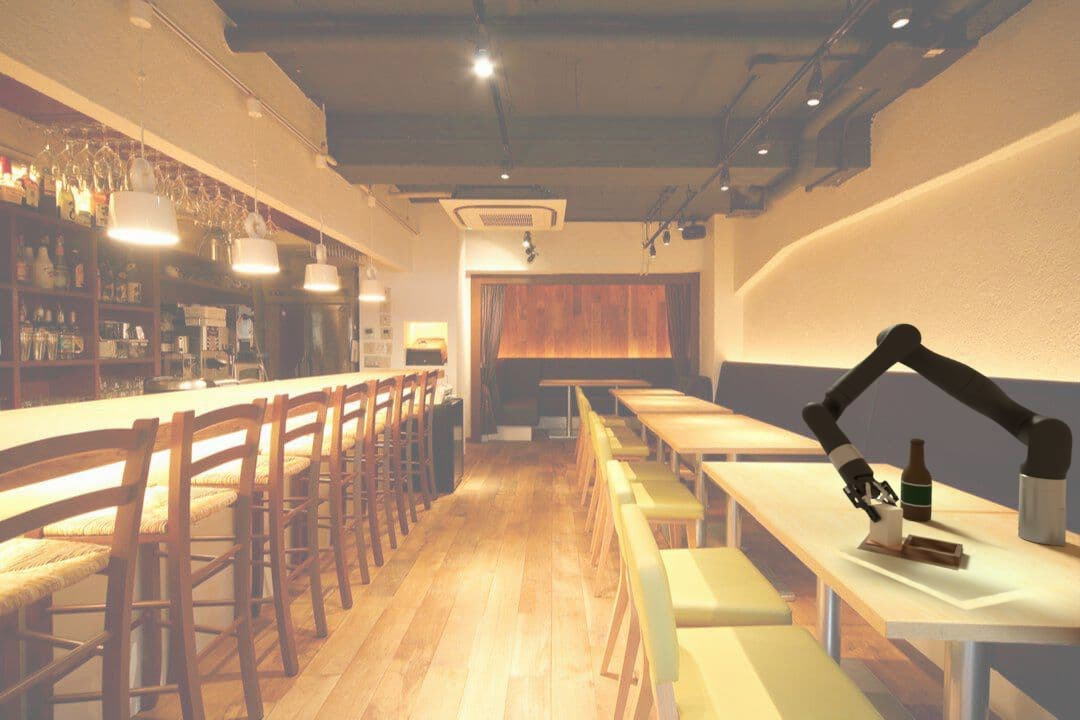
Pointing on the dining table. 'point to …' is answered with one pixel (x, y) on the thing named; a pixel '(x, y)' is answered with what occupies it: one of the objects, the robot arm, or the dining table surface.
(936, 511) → the dining table surface
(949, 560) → the puzzle board
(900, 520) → the cream block
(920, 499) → the beer bottle
